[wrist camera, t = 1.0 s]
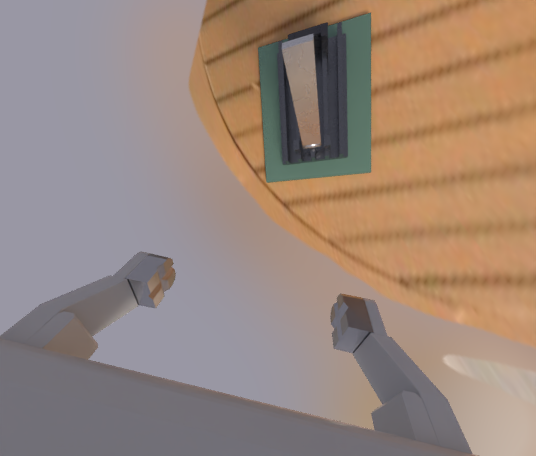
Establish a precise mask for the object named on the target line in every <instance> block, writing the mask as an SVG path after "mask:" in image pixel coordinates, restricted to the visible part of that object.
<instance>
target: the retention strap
mask: <svg viewBox="0 0 536 456" xmlns="http://www.w3.org/2000/svg"><path fill="white" fill-rule="evenodd" d="M282 53H283V58H284V62H285V67H286V71H287V76H288V81H289V85H290V90H291V94H292V99H293V104H294V108H295V113H296V117H297V122H298V127H299V131H300V136H301V141H302V145H303V148H304V149H308V148H315V147H321V134H320V120H319V106H318V92H317V79H316V65H315V51H314V37H313V34H310V35H307V36H303V37H300V38H297V39H294V40H290V41H287V42H284V43H282Z"/></svg>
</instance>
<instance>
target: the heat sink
mask: <svg viewBox="0 0 536 456" xmlns="http://www.w3.org/2000/svg"><path fill="white" fill-rule="evenodd" d="M310 34H313V37H314V51H315V65H316V79H317V92H318V106H319V120H320V134H321V147H315V148H308V149H304V148H303V145H302V141H301V136H300V131H299V127H298V122H297V117H296V113H295V108H294V104H293V99H292V94H291V90H290V85H289V81H288V76H287V71H286V67H285V62H284V58H283V53H282V43H283V42H282V41H278V49H279V53H277V64H278V84H279V103H280V122H281V142H282V161H283V165H292V164H300V163H309V162H317V161H325V160H333V159H342V158H347V157H348V121H347V52H346V33H344V34H342V22H339V23H337V35H336V36H334V37H330V38H328V23H324V24H320V25H317V26H314V27H311V28H308V29H305V30H302V31H298V32H295V33H292V34H289V35H288V41H290V40H294V39H297V38H300V37H303V36H307V35H310Z"/></svg>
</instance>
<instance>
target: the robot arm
mask: <svg viewBox="0 0 536 456" xmlns="http://www.w3.org/2000/svg"><path fill="white" fill-rule="evenodd" d="M172 265H173V260H172V259H171V258H167V257H163V256H159V255H154V254H150V253H146V252H139V253H137V254H136V255H135V256H134V257H133V258H132V259H131V260H129V261H128V262H127V263H126V264H125V265H124V266H123V267H122V268H121V269H120V270H119V271H118V272H117V273H116V274H115V275H113V276H108V277H105V278H103V279H100V280H98V281H95V282H93V283H91V284H88V285H86V286H83V287H81V288H79V289H76V290H74V291H71V292H69V293H67V294H64V295H62V296H60V297H57V298H54V299H52V300H50V301H47V302H45V303H42V304H40V305H39V306H38V307H36V308H35V309H34V310H33V311H31V312H30V313H29V314H27V315H26V316H25V317H24V318H22V319H21V320H20V321H19V322H17V323H16V324H15V325H14V326H12V327H11V328H10V329H8V331H6V332H5V333H3V334H2V335H1V336H0V456H477V455H473V454H472V452H471V450H470V447H469V445H468V443H467V441H466V439H465V437H464V434H463V432H462V430H461V428H460V426H459V424H458V421H457V419H456V417H455V415H454V413H453V411H452V409H451V406H450V404H449V402H448V400H447V399H446V398H445V396H444V395H443V394H442V393H441V392H440V391H439V390H438V389H437V388H436V386H435V385H434V384H433V383H432V382H431V381H430V380H429V379H428V377H427V376H426V375H425V374H424V373H423V372H422V371H421V370H420V369H419V368H418V366H417V365H416V364H415V363H414V362H413V361H412V360H411V359H410V358H409V356H408V355H407V354H406V353H405V352H404V351H403V350H402V349H401V347H400V346H399V345H398V344H397V343H396V342H395V341H394V340H393V339H392V337H389V336H387V333H386V330H385V327H384V325H383V322H382V319H381V316H380V313H379V310H378V307H377V304H376V302H375V301H374V300H370V299H365V298H361V297H356V296H351V295H346V294H339V295H338V297H337V303H335V304H334V305H333V307H332V310H331V325H332V326H333V327H334V331H333V333H332V337H333V345H334V349H338V350H342V351H346V352H349V353H353V356H354V357H355V359H356V361H357V362H358V364H359V366H360V367H361V369H362V371H363V372H364V374H365V376H366V377H367V379H368V381H369V382H370V384H371V386H372V387H373V389H374V391H375V392H376V394H377V396H378V398H379V399H380V401H381V402H382V404H383V405H381V406H380V407H378V408H377V409H375V410H374V411H373V412H372V419H373V424H374V429H375V430H372V429H368V428H364V427H359V426H355V425H352V424H347V423H343V422H339V421H335V420H331V419H327V418H323V417H319V416H315V415H311V414H307V413H302V412H299V411H295V410H290V409H287V408H282V407H278V406H274V405H270V404H266V403H262V402H258V401H254V400H250V399H245V398H242V397H238V396H234V395H230V394H225V393H222V392H217V391H213V390H209V389H205V388H201V387H197V386H193V385H189V384H185V383H181V382H177V381H173V380H168V379H165V378H160V377H156V376H152V375H148V374H144V373H140V372H136V371H132V370H128V369H124V368H120V367H116V366H112V365H108V364H104V363H100V362H96V361H91V360H88V359H89V358H90V357H91V355H92V354H93V353H94V352H95V350H96V349H97V348H98V344H97V342H96V341H95V340H94V339H93V337H92V336H94V335H95V334H97V333H98V332H99V331H101V330H103V329H104V328H106V327H107V326H109V325H110V324H112V323H113V322H115V321H116V320H118V319H119V318H121V317H122V316H124V315H126V314H127V313H129V312H130V311H131V310H133V309H134V308H136V307H138V305H141V306H146V307H152V308H156V307H157V306H158V305H159V303H160V302H161V300H162V299H163V297H164V292H165V291H166V290H168V289H170V287H171V286H172V285H173V282H174V280H175V274H176V273H175V270H174V269H173V268H172V267H171V266H172Z"/></svg>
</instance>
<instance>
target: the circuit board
mask: <svg viewBox="0 0 536 456" xmlns="http://www.w3.org/2000/svg"><path fill="white" fill-rule="evenodd" d="M344 33H346V52H347V121H348V157H347V158H342V159H333V160H325V161H317V162H309V163H300V164H292V165H283V161H282V142H281V122H280V103H279V84H278V64H277V53H279V49H278V42H275V43H272V44H269V45H266V46H262V47H259V48H258V51H259V68H260V84H261V100H262V116H263V133H264V149H265V165H266V181H267V182H268V183H269V182H279V181H290V180H300V179H310V178H321V177H331V176H341V175H352V174H362V173H370V172H371V13H368V14H365V15H362V16H359V17H355V18H352V19H349V20H346V21H343V22H342V34H344ZM336 35H337V23H336V24H333V25H330V26H328V38H330V37H334V36H336ZM287 41H288V39H285V40H282V42H283V43H284V42H287Z"/></svg>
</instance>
